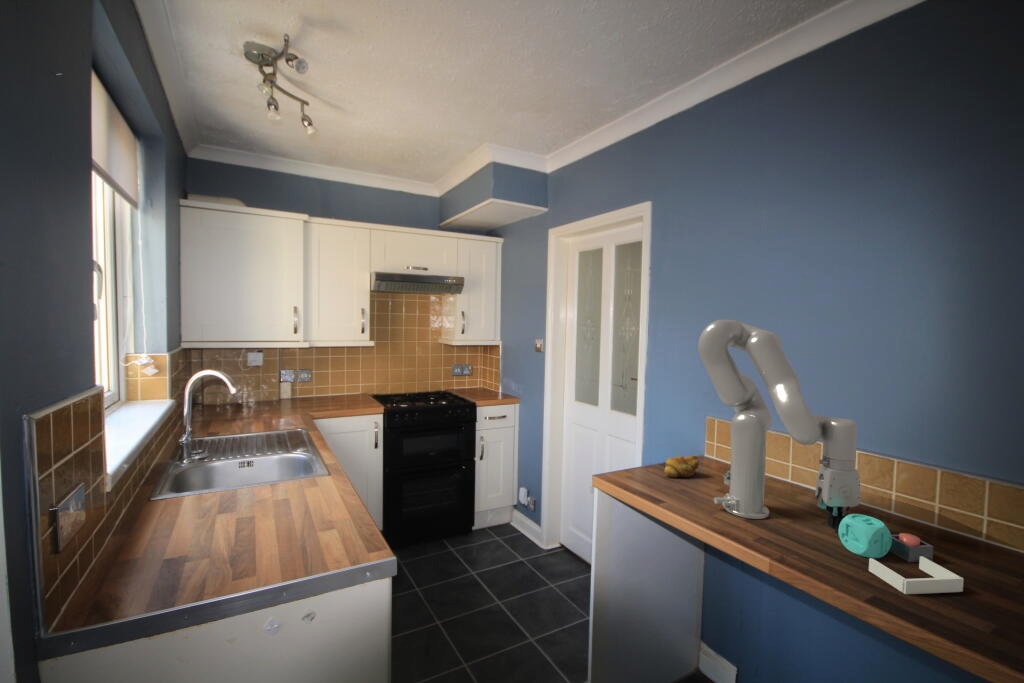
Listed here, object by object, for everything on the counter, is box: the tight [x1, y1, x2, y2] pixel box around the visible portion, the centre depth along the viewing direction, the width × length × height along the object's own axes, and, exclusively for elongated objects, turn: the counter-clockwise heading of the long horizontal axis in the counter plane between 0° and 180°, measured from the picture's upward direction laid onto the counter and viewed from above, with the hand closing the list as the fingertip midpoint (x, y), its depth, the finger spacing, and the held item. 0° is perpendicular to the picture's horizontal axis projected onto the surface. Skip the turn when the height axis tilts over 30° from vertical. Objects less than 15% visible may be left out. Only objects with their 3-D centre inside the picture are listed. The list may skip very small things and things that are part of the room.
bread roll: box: [664, 455, 700, 479], centre depth 174 cm, size 13×10×8 cm
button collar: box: [888, 533, 934, 563], centre depth 117 cm, size 6×6×4 cm
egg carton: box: [722, 469, 730, 487], centre depth 167 cm, size 11×8×4 cm
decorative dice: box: [837, 513, 892, 559], centre depth 119 cm, size 8×8×8 cm
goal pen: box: [868, 556, 964, 595], centre depth 106 cm, size 14×9×3 cm
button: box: [898, 532, 921, 546], centre depth 117 cm, size 4×4×4 cm
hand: (835, 527), depth 129 cm, fingers closed
